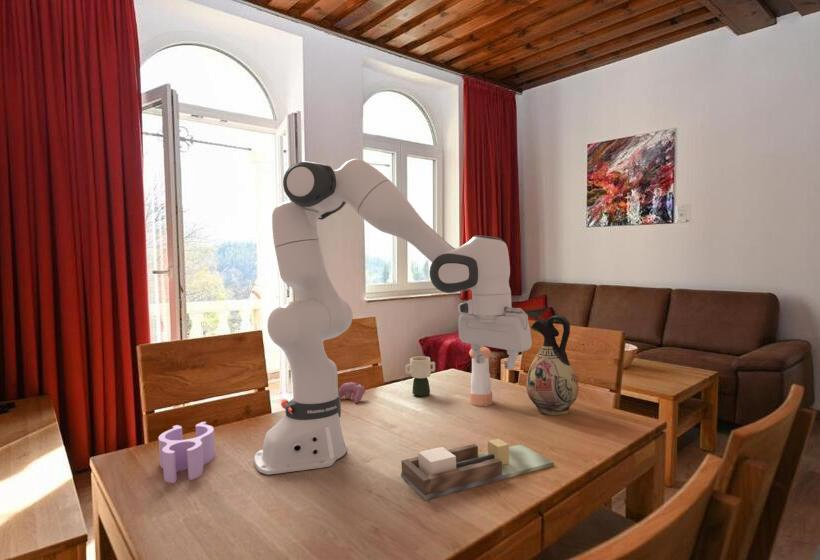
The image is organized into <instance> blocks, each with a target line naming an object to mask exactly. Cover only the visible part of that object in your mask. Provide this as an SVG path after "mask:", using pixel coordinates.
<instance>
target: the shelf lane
mask: <svg viewBox="0 0 820 560" xmlns="http://www.w3.org/2000/svg"><path fill="white" fill-rule="evenodd" d="M478 447H479V446H478V445H477V444H475V443H473V444H468V445H465V446H464V445H463V446H460V447H455V448H451V449H447V450H448V451H449V452H450V453H452V454H453V455H455V456H456V463H458V462H462V461H466V460H470V459H474V458H479V457H483V456H487V455H488V451H487V452H483V453H479V448H478ZM400 462H401V472H400V478H402V479H403V480H404V481H405V482H406V483H407V484H408V485H409V486H410V488H412V489H414V491H415V492H416V493H418V495H420V497H421V498H422V499H424V500H425V501H428V500H431V499H435V498H439V497H443V496H446V495H449V494H454V493H457V492H462V491H464V490H467V489H472V488H475V487H479V486H483V485H487V484H490V483H494V482H497V481H501V480H505V479H509V478H512V477H515V476H520V475H524V474H527V473H531V472H534V471H539V470H542V469H546V468H549V467H553V466H555V462H554V461H553V460H551V459H549V458H547V457H545V456H543V455H542V454H540V453H538V452H536V451H534V450H532V449H531V448H529V447H526V446H525V445H523V444H521V443H520V444H517V445H513V446H512V445H511V446H509V464H505V465H502V461H501V460H499V459H494V460H486V461H482V462H478V463H474V464H470V465H466V466H462V467H458V468H456V469H454V470H450V471H446V472H442V473H437V474H433V475H429V476H426V475H425V474H424V473H423V472H422V471H421V470H420V469H419V459H418V456H416V457H411V458H407V459H402V460H401V461H400Z"/></svg>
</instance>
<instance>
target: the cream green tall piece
mask: <svg viewBox="0 0 820 560" xmlns="http://www.w3.org/2000/svg"><path fill="white" fill-rule="evenodd" d="M409 369H410V370H409ZM435 370H436V362H435V361H431V357H430V356H425V355H424V356H421V355H420V356H413V357H411V358H409V364H405V374H406V375H410V376H411V378H413V380H412V382H413V383H412V392H411V393H412V394H413V395H415V396H420V397H421V396H422V397H424V396H428V395H430V394H431V388H430V387H431V386H430V383H429V379H428V378H430V377H431V374H432V372H435Z"/></svg>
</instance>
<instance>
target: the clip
mask: <svg viewBox="0 0 820 560" xmlns="http://www.w3.org/2000/svg"><path fill="white" fill-rule="evenodd" d="M183 437H184V436H183V427H182V426H181V425H179V424H176V425H173V426H172V428H171V429H170V428H169V429H168V430H166V431H164V432H162V433H161V434H160V435H159V436H158V448H159V449H158V451H159V453H158V454H159V466H161V467H160V468H161V469H162V468H163V480H164V482H166V483H169V482H170V484H174V483H176V482H178V480H177V477H178V476H177V473H178V471H179V472H182V471H185V470H186V469H188V470H186V471H187V476H188V477H187V479H188V480H189V481H192V480H195V479H197V478H199V477H200V476H202V475H203V473H204V466H205V465H206V464H208V463H211V461H212V460H213V459H215V457H216V449H215V448H216V447H215V430H214V426H213V425H209V424H207V421H201V422H199V423H196V424H195V437H193V438H187V439H184V438H183Z"/></svg>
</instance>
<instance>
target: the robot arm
mask: <svg viewBox="0 0 820 560" xmlns="http://www.w3.org/2000/svg"><path fill="white" fill-rule="evenodd" d="M282 185H283V191H284V192H285V194H286V196H287V197H288V199H289V200H288V201H287V200H286V201H283V202H281V203H280V204H278V205H277V206H276V207H275V208H274V209H273V210H272V214H271V216H272V217H271V220H272V221H271V222H272V223H271V224H272V226H271V228H272V229H271V230H272V238H273V239H272V240H273V245H274V249H275V250H274V251H275V256H276V260H277V265H278V269H279V271H278V272H279V276H280V279H281V280H282V281H283V283H285V284H286V285H288V286H289V287H291V289H292V290H293V291H294V293H295V295H296V296H297V299H298V300H294V301H289V302H287V303H284V304H282V305H279V306H278V307H276V308H274V309H273V310H272V312H271V313H270V314H269V316H268V319H267V332H268V335H269V337H270V339H271V341H272V342H273V343H274V344H275V345H277V346H278V347H279V348H281V350H282V351H283V352H284V355H285V356H286V358H287V360H288V364H289V367H290V371H291V381H292V396H293V397H292V399H291V400H290V401H289V400H288V399H286V398H285V399H282V400H281V402H280V406H281V407H282V408H283V409H284V412H285V416H283V417H282V418H281V419H280V420H279V421H277V423H275V425H274V426H273V427H271V428H269V430H267V432H266V434H265V436H264V440H263V446H262V449H259V450H258V451H257V452H255V454H254V458H253V464H254V466H255V469H256V470H257V471H258V472H260V473H261V474H264V475H268V476H269V475H275V474H276V475H277V474H278V475H279V474H285V473H291V472H300V471H305V470H307V471H308V470H314V469H321V468H322V469H323V468H328V467H332V466H333V465H334V464H335V462H336V461H337V460H338V459H340V458H342V457H344V456H345V455H346V453H347V451H348V448H347V446H346V443H345V440H344V435H343V431H342V423H341V418H342V417H341V413H342V405H341V404H342V403H341V402H342V401H341V398H340V396H339V395H338V390H339V385H338V384H339V383H338V381H339V380H338V367H337V364H336V363H335V362H334V361H333V360H332V359H330V358H329V357H328V355H327V353H326V350H325V346H324V341H326V340H327V341H328V340H331V339H334V338H337V337H339V336H340V335H341V334H343V333H344V332H346V331H348V330H349V328H350V327H351V325H352V322H353V317H354V315H353V311H352V308H351V305H350V304H349V303H348V302H347V301H346V300H345V299H343V298H342V296H340V295H339V293H338V292H337V290H336V287H334V284H333V282H332V281H331V279H330V277H329V274H328V272H327V269H326V265H325V261H324V257H323V252H322V248H321V242H320V238H319V233H318V227H317V223H318V220H322V221H323V220H325V219H326V218H327V217H330V216H331V215H333V214H335V213H337V212H339V211H340V210H342V208H344V207H345V205H347V204H348V205H349V207H351V208H352V209H353V210H354V211H355V212H356V213H357V214H358V215H359V216H360V217H361V218H362V219H363V220H365V221H366V222H367V223H368V224H369V225H371V226H373V228H375V229H377V230H378V231H380V232H382V233H385V234H387V235H388V234H389V235H392V236H394V237H397V238H399V239H402V240H405V241H406V242H408V243H409V244H411V245H412V246H413V247H414V248H416V249H417V250H418V251H419V252H420V253H421V254H422V255H423V256H424V257H425V258H426V259H428V261H430V262H431V264H430V268H429V278H430V281H431V283H432V285H433V286H434V287H435V288H436V290H438V291H439V292H442V293H445V294H458V293H462V292H466V291H469V290H470V291H471V298H470V299H468V300H466V301H463V302H462V303H459V304H458V305H457V311H458V313H459V316H458V321H457V322H458V323H457V324H458V338H459V339H460V341H461V343H462V344H463V343H464V344H468V345H469V344H470V348H471V349H472V351H473V353H474V355H475V361H476V363H480V364H482V363H485V355H482V352H481V349H480V348H481V347H486V348H488V347H489V348H493V349H494V348H495V349H501V350H506V354H507V355H508V357H507V360H506V361H505V360H504V363H503V364H504V366H503V367H504V369H505V370H508V371H513V370H515V366H516V365H515V363H516V360H517V357H518V356H519V353H520V352H521V353H522V352H526V351H529V350H530V349H531V347H532V346H533V341H532V334H531V328H530V327H531V326H530V323H529V316H528V314H527V313H526V312H525V310H523V308H521V307H512V290H511V287H510V282H509V281H510V277H511V276H510V275H511V265H510V256H509V255H510V254H509V250H508V245H507V243H506V242H505V241H504V240H503V239H502V238H500V237H496V236H490V235H489V236H488V235H478V234H477V235H474V236H472V238H471V239H469V240H468V241H467V242H465V243H464V244H462V245H460V246H458V247H456V248H455V247H453V246H452V245H451V244H449V242H447V241H446V240H445V239H444V238H443V237H441V236H440V234H439V233H437V231H435V230H434V228H432V227H431V226H429V225H428V223H426V222H425V220H424V219H423V218H422V217H421V215H420V214H419V213H418V211H416V210H415V208H414V207H413V205H412V204H411V203H410V202H409V200H408V199H407V197H405V195H404V194H403V193H402V191H401V190H400V189H399V187H397V186H396V185H395V183H393V182H392V181H391V180H390V179H389V178H388V177H387V176H386V175H384V174H383V173H382V172H381V171H379V170H378V169H377V168H376V167H374V166H373V165H371V164H369V162H366V161H365V160H362V159H359V158H353V159H350V160H348V161H346V162H344V163H343V164H342V165H341V166H340V167H339V168H337V169H333V167H331V165H328V164H323V163H318V162H313V161H298V162H295V163H293V164H292V165H291V166H289V167H288V168H287V170H286V171H285V173H284V176H283V180H282ZM471 349H470V350H471Z"/></svg>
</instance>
